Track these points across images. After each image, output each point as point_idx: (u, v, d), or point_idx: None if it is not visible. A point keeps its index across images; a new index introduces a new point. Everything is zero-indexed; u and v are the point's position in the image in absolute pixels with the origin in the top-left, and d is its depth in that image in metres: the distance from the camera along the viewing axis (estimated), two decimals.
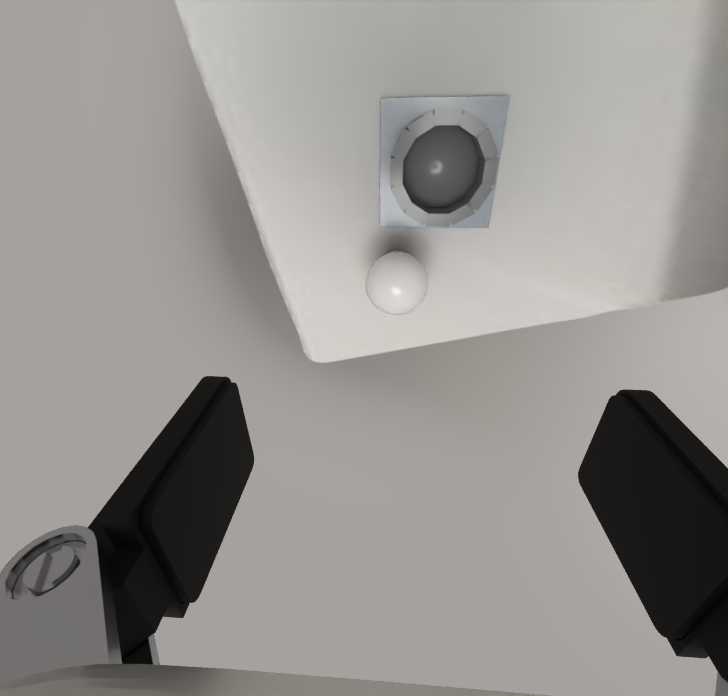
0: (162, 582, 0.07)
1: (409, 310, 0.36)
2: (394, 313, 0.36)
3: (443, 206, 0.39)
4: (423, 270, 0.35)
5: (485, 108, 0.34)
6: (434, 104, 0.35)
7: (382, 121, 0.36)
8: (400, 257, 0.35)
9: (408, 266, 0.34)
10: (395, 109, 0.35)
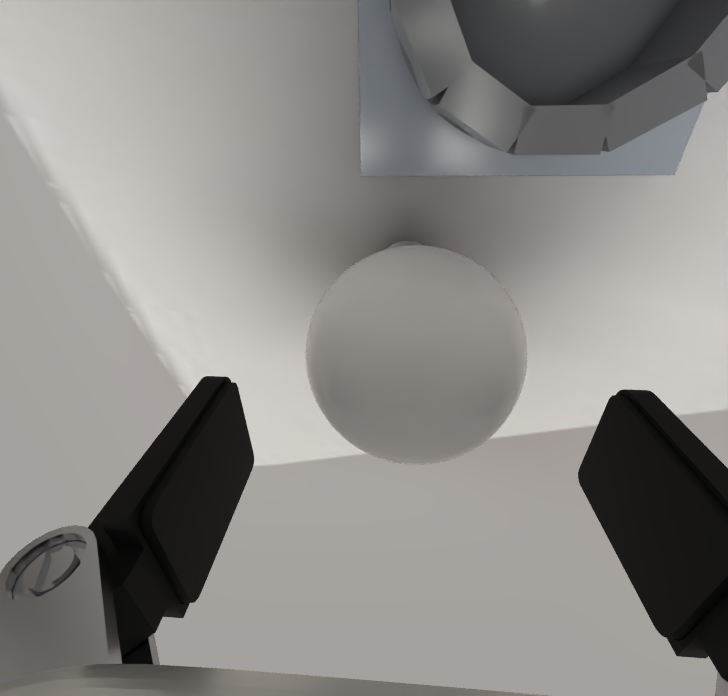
0: (163, 582, 0.07)
1: None
2: None
3: (557, 101, 0.12)
4: (517, 316, 0.09)
5: None
6: None
7: None
8: (431, 268, 0.09)
9: (467, 304, 0.08)
10: None
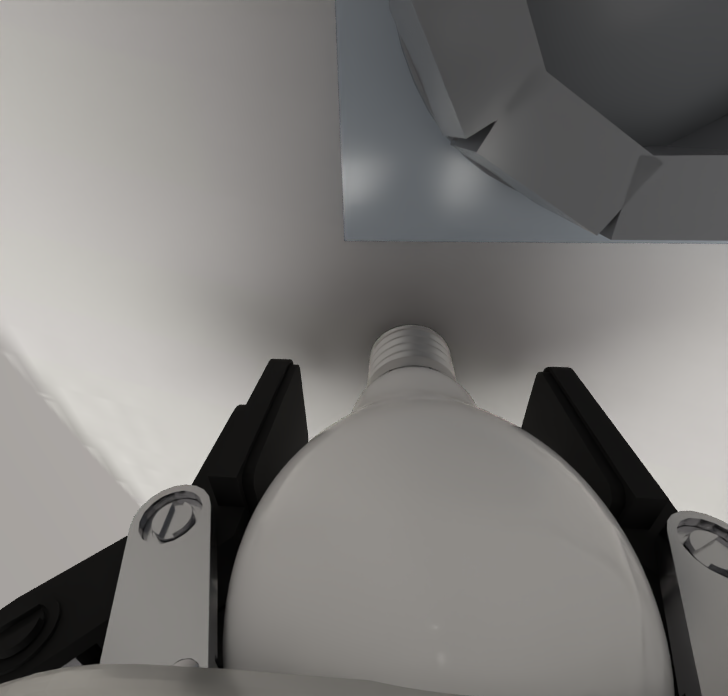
0: None
1: None
2: None
3: (657, 138, 0.08)
4: (654, 601, 0.04)
5: None
6: None
7: None
8: (478, 535, 0.04)
9: (575, 658, 0.03)
10: None
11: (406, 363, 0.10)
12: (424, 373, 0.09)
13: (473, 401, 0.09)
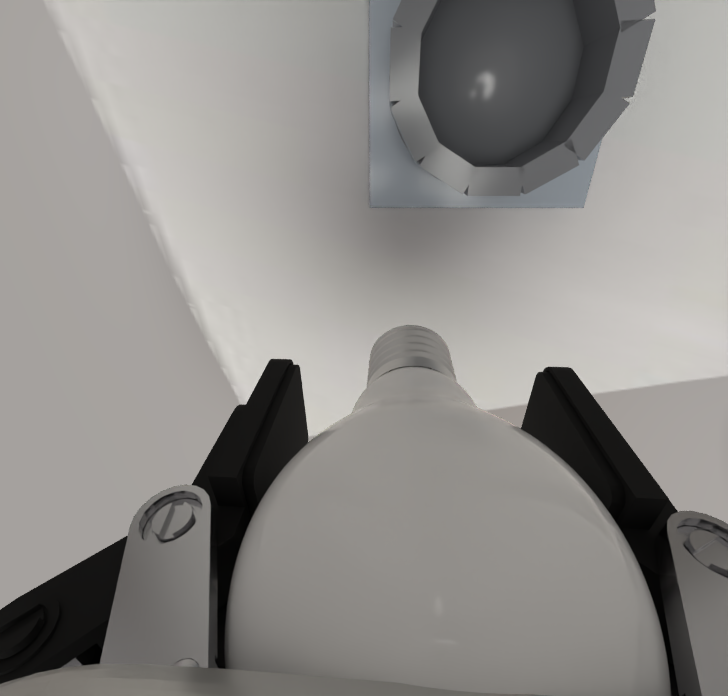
0: None
1: None
2: None
3: (499, 161, 0.19)
4: (650, 599, 0.04)
5: None
6: None
7: None
8: (477, 533, 0.04)
9: (571, 657, 0.03)
10: None
11: (406, 363, 0.10)
12: (424, 373, 0.09)
13: (472, 401, 0.09)
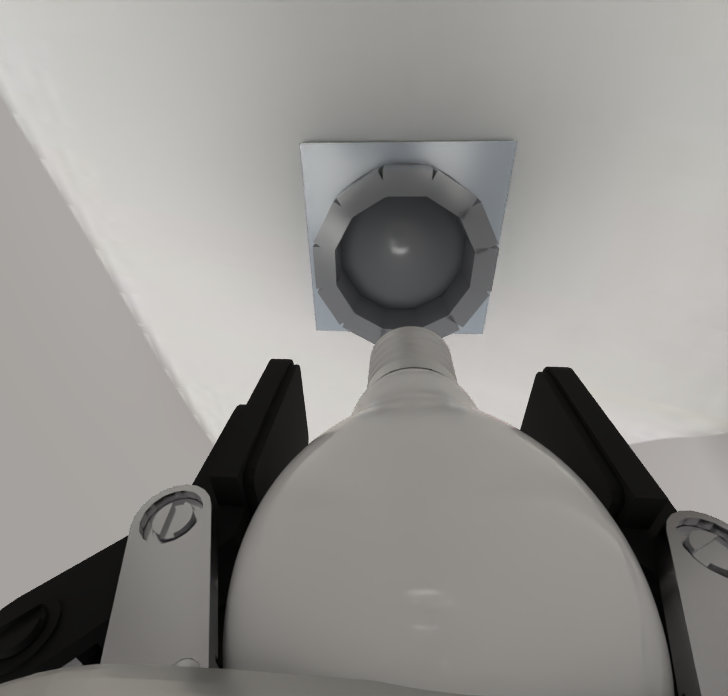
0: None
1: None
2: None
3: (411, 307, 0.24)
4: (654, 605, 0.04)
5: (475, 161, 0.20)
6: (389, 153, 0.21)
7: (306, 179, 0.22)
8: (478, 540, 0.04)
9: (574, 666, 0.03)
10: (325, 161, 0.21)
11: (406, 364, 0.10)
12: (424, 375, 0.09)
13: (473, 403, 0.09)
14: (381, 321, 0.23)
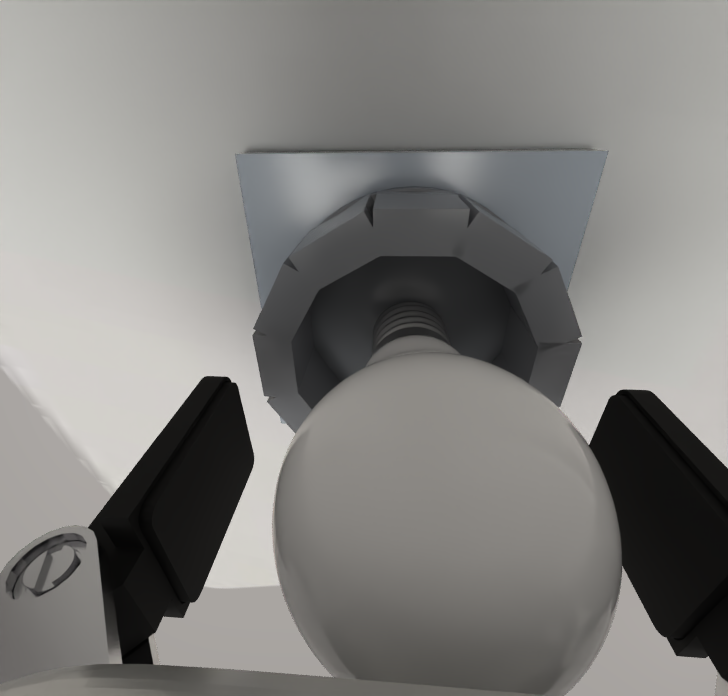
0: (162, 582, 0.07)
1: None
2: None
3: None
4: (607, 486, 0.06)
5: (532, 184, 0.12)
6: (386, 172, 0.12)
7: (250, 213, 0.13)
8: (475, 428, 0.05)
9: (544, 506, 0.05)
10: (280, 184, 0.13)
11: (408, 332, 0.11)
12: (424, 338, 0.10)
13: None
14: None
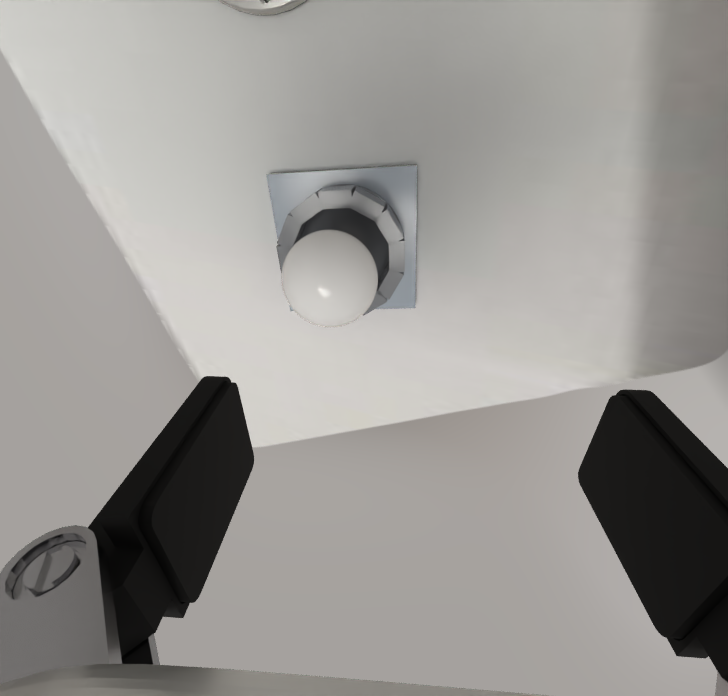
0: (163, 582, 0.07)
1: (348, 319, 0.23)
2: (326, 324, 0.23)
3: None
4: (365, 255, 0.22)
5: (390, 180, 0.29)
6: (329, 178, 0.29)
7: (272, 199, 0.30)
8: (326, 236, 0.22)
9: (338, 248, 0.21)
10: (285, 186, 0.30)
11: None
12: None
13: None
14: None
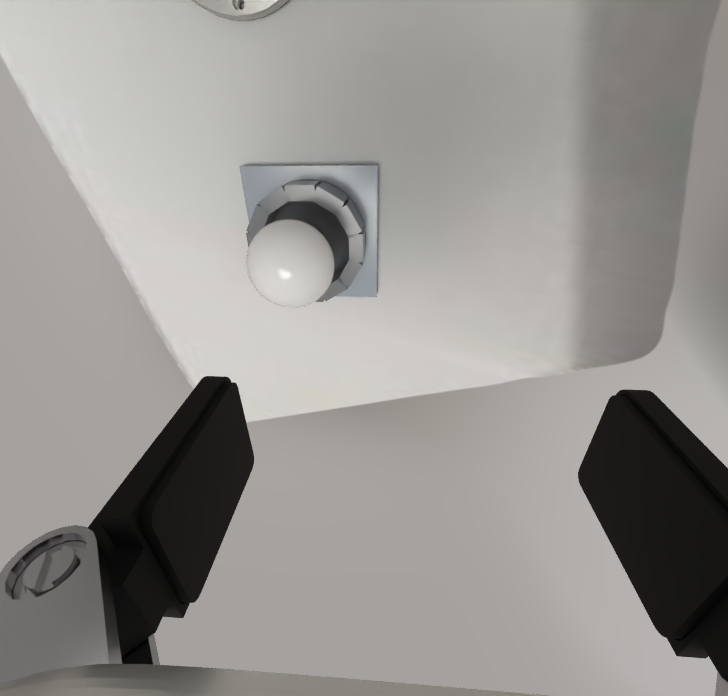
0: (162, 582, 0.07)
1: (305, 300, 0.26)
2: (285, 304, 0.26)
3: None
4: (322, 244, 0.25)
5: (353, 178, 0.32)
6: (297, 173, 0.32)
7: (245, 189, 0.33)
8: (286, 225, 0.25)
9: (296, 236, 0.24)
10: (257, 178, 0.32)
11: None
12: None
13: None
14: None
